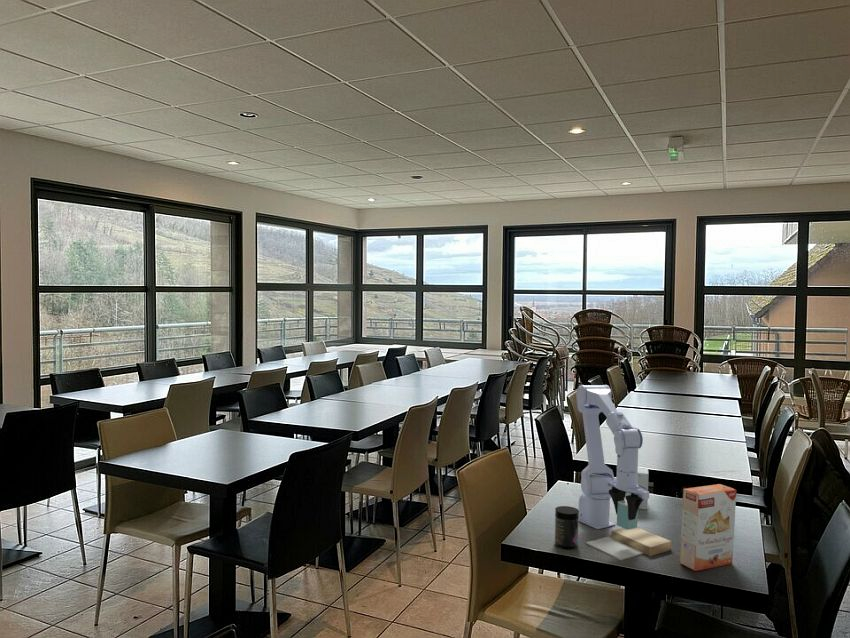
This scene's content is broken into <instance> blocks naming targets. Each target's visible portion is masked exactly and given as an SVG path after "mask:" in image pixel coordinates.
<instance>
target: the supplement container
mask: <svg viewBox="0 0 850 638" xmlns="http://www.w3.org/2000/svg"><path fill="white" fill-rule="evenodd" d="M579 523H580V521H579V508H576V507H573V506H568V505H560V506H556V507H555V509H554V544H555V546H556V547H558V548H559V549H563V550H573V549H576V548H577V547H578V545H579Z"/></svg>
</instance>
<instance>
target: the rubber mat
mask: <svg viewBox="0 0 850 638" xmlns="http://www.w3.org/2000/svg"><path fill="white" fill-rule="evenodd" d="M585 544H586V545H588V546H589V547H592V548H594V549H596V550H598V551H601V552H602V553H604V554H606V555H609V556H611V557H612V558H615V559H617V560H620V561H624V560H627V559H631V558H633V557H637V556H640V555H643V554H644V553H643V552H641V551H639V550H636V549H634V548H632V547H630V546H628V545H625V544H623V543H621V542H619V541H616V540H614V539H612V537H610V536H605V537H603V538H601V537H600V538H598V539H594V540H590V541H586V543H585Z"/></svg>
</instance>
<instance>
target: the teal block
mask: <svg viewBox="0 0 850 638" xmlns="http://www.w3.org/2000/svg"><path fill="white" fill-rule="evenodd" d="M638 517H639V510H638V511H637V514H636V518H635V519H633V520H629V518H628V505H627V500H625V499H624V500H623V501H618V508H617V515H616V526H618V527H620V528H624V529H627V530H629V529H633V528H637V527H638Z"/></svg>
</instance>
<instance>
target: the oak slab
mask: <svg viewBox="0 0 850 638" xmlns="http://www.w3.org/2000/svg"><path fill="white" fill-rule="evenodd" d="M611 538H612V539H614V540H616V541H619V542H621V543H623V544H625V545H628V546H630V547H632V548H634V549H636V550H639V551H641V552H643V554H644V555H647V556H649V557H652V556H654V555H658V554H662V553H665V552H669V551H672V540H670V539H667V538H664V537H662V536H659V535H657V534H655V533H652V532H650V531H647V530H644V529H642V528H640V527H638V526H637V528H633V529H629V530H627V529H624V528H622V527H620V528H617V529H613V530H611Z"/></svg>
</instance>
